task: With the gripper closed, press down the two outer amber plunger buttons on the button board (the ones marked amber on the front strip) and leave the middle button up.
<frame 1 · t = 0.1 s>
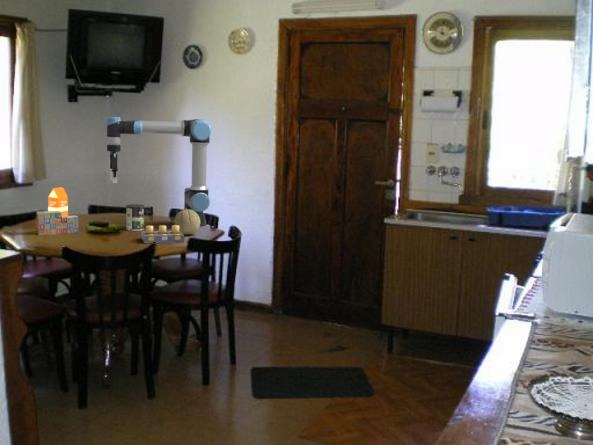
hand: (113, 181, 407), 28 cm above the table, tool pointing down, fingers open, 13 cm apart
orange juice: (58, 220, 435), on the table
button 2: (175, 230, 388), point 5 cm above the table, slide at 0.0 cm
stack of blocks: (57, 233, 395), on the table
coffee can: (135, 229, 416), on the table
button 1: (149, 230, 383), point 5 cm above the table, slide at 0.0 cm
cantaloupe: (187, 234, 406), on the table
button board: (162, 240, 386), on the table
button mid: (162, 230, 385), point 5 cm above the table, slide at 0.0 cm
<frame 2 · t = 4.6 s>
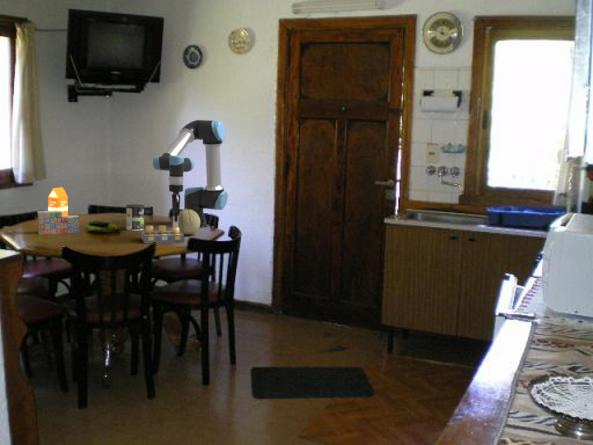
hand: (175, 227, 387), 7 cm above the table, tool pointing down, fingers closed
button 2: (175, 232, 388), point 4 cm above the table, slide at 1.1 cm, touching gripper
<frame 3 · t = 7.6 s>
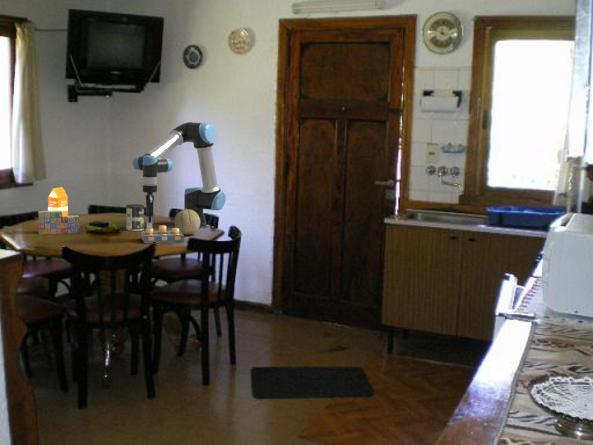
hand: (149, 228, 383), 7 cm above the table, tool pointing down, fingers closed
button 2: (175, 233, 388), point 4 cm above the table, slide at 1.6 cm
button 1: (149, 233, 383), point 4 cm above the table, slide at 1.4 cm, touching gripper
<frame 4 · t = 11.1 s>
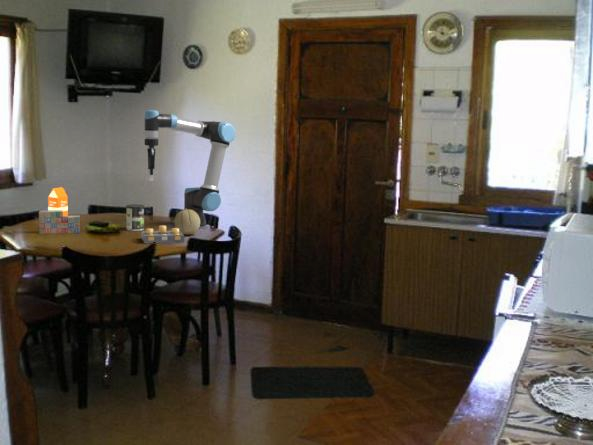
hand: (151, 180, 399), 30 cm above the table, tool pointing down, fingers closed
button 1: (149, 233, 383), point 4 cm above the table, slide at 1.6 cm
at the end: button 2 slide at 1.6 cm; button 1 slide at 1.6 cm; button mid slide at 0.0 cm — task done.
